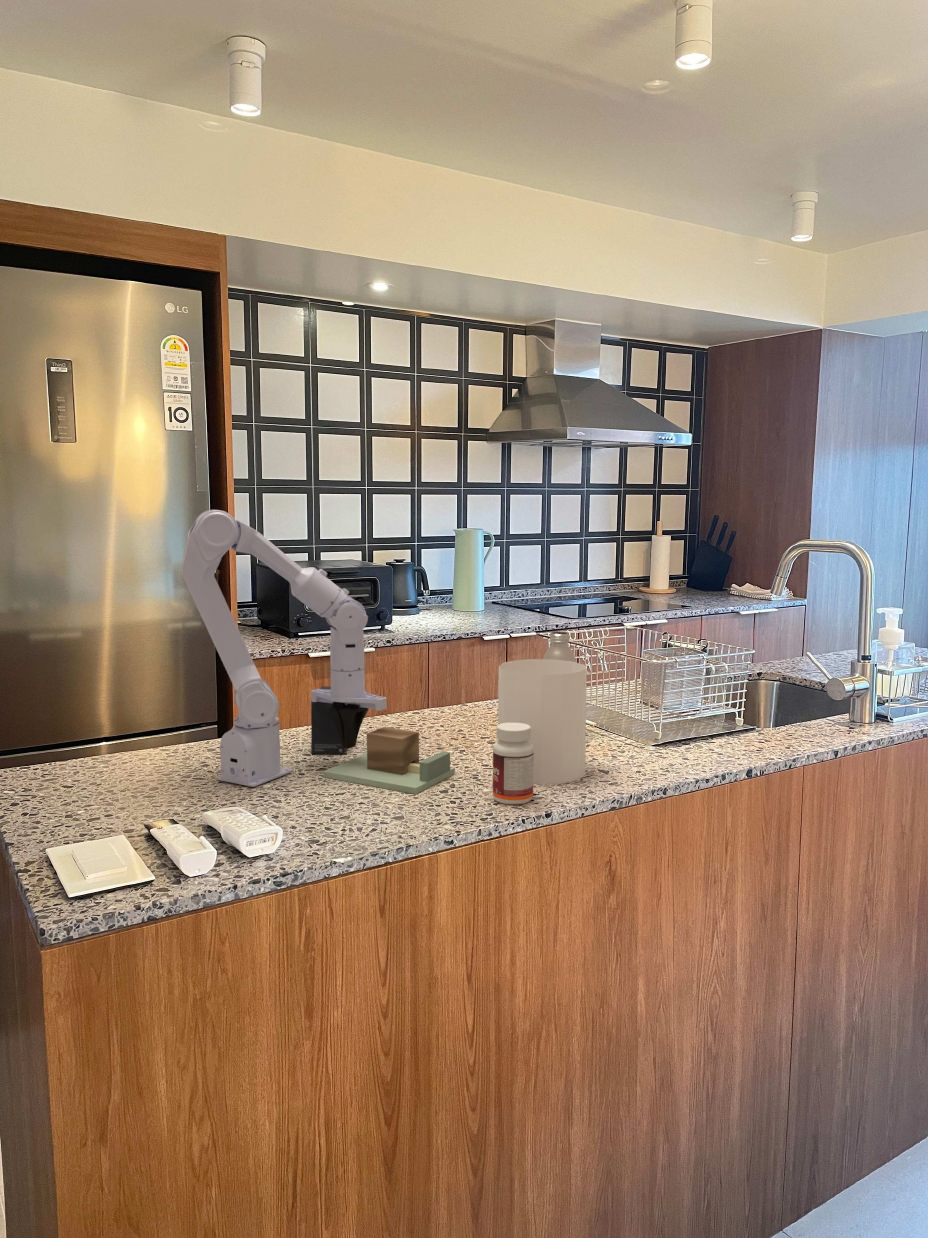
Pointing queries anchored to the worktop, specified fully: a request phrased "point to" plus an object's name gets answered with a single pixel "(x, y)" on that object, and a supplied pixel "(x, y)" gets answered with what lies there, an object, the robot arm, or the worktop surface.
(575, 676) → the container
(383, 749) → the brown block
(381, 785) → the wall board
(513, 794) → the pill bottle
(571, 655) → the plastic bottle
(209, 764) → the worktop surface
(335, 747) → the small box
